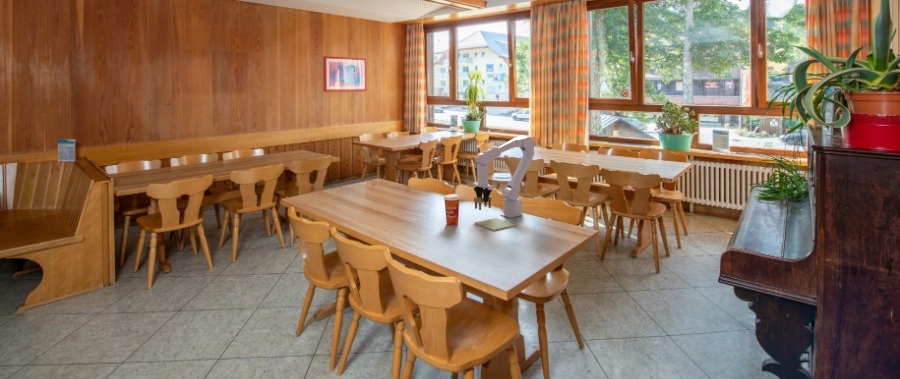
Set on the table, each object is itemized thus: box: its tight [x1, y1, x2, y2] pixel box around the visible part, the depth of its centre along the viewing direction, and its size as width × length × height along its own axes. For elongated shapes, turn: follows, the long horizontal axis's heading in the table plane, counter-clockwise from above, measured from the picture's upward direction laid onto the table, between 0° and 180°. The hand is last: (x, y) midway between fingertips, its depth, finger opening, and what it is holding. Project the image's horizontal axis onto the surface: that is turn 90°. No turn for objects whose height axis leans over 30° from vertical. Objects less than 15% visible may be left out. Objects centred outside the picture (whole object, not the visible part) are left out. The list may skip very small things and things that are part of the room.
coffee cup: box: [443, 193, 461, 226], centre depth 247 cm, size 8×8×15 cm
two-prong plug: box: [473, 195, 493, 211], centre depth 256 cm, size 8×5×6 cm, turn 123°
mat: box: [474, 217, 517, 232], centre depth 245 cm, size 14×16×1 cm
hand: (482, 201), depth 256 cm, fingers closed on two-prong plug, 5 cm apart
